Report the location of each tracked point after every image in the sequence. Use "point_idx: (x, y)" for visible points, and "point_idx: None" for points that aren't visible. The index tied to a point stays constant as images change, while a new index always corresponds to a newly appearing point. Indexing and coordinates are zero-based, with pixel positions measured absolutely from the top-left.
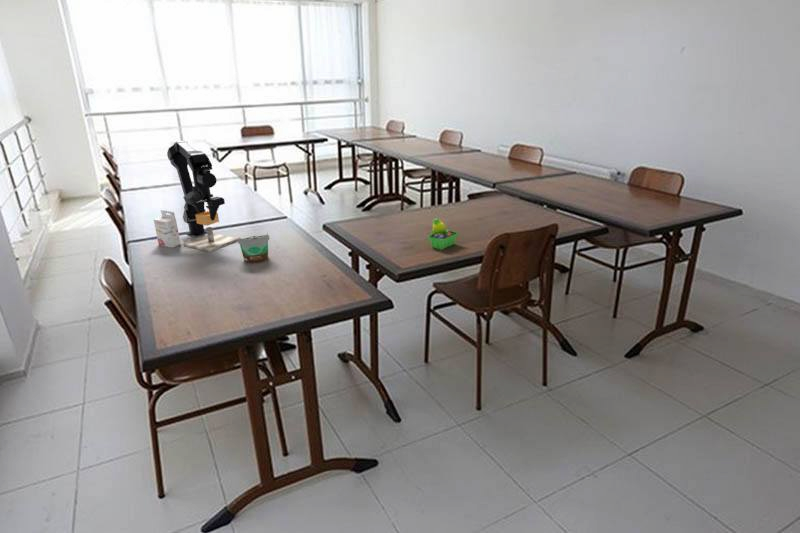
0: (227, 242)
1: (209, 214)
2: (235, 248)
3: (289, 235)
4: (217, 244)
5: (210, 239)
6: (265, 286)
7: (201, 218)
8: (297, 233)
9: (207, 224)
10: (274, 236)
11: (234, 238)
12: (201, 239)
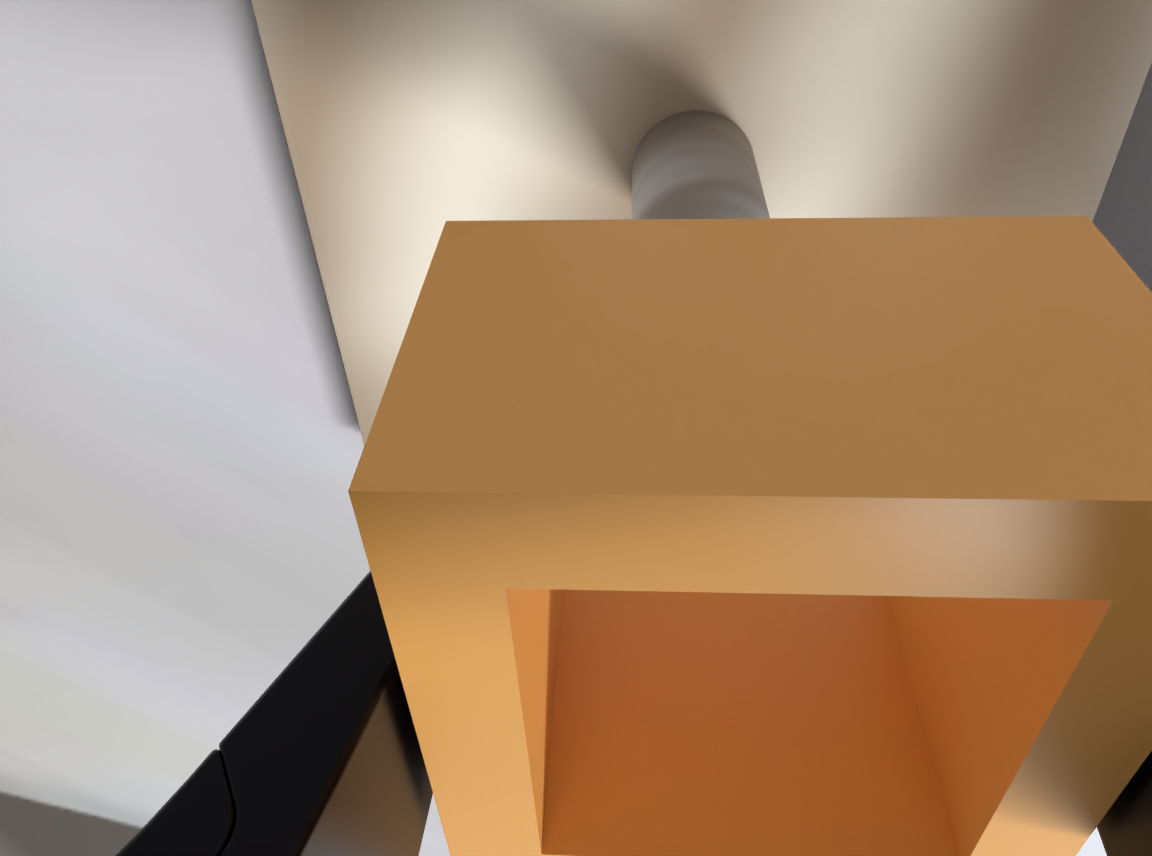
0: (319, 261)
1: (516, 722)
2: (14, 167)
3: (78, 744)
4: (367, 78)
5: (655, 150)
6: None
7: (753, 382)
8: (86, 792)
9: (442, 266)
10: (166, 685)
11: None
12: (995, 135)
